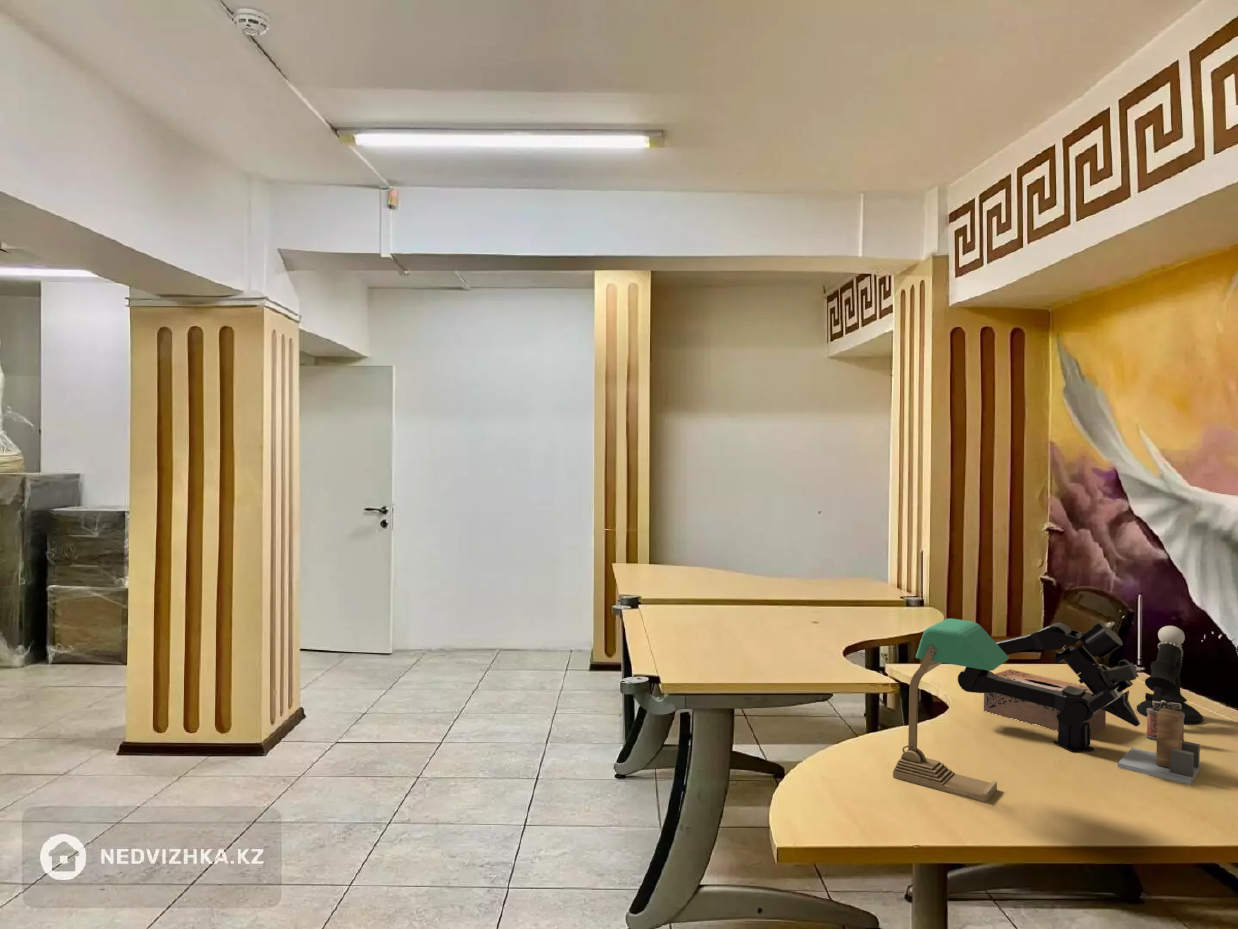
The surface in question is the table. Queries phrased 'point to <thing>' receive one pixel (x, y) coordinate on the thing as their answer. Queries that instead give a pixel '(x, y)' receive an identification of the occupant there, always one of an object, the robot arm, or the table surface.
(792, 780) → the table surface
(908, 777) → the banker's lamp
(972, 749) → the table surface
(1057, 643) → the robot arm
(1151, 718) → the lighter
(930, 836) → the table surface
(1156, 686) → the sculpture
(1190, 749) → the grey stand
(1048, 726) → the tissue box cover
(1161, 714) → the tall wooden post
